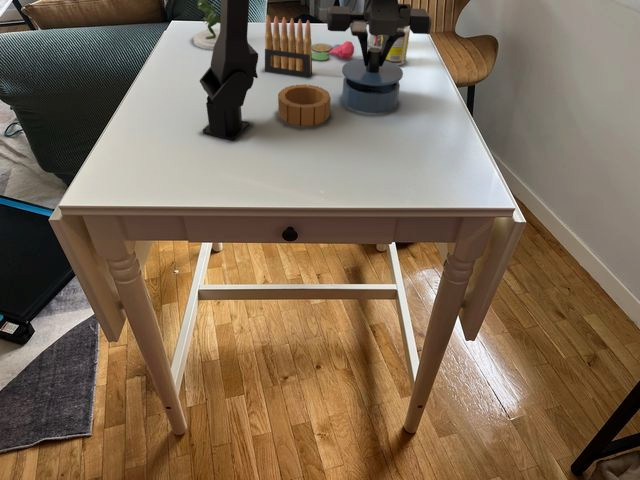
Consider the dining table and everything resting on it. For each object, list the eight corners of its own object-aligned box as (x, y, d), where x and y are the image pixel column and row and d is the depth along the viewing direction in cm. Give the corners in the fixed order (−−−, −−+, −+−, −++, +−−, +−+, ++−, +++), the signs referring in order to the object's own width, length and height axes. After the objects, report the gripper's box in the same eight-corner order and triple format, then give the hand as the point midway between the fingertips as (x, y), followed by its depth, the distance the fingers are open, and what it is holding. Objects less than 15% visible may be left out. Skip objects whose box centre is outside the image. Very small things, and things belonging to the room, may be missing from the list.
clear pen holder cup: (362, 47, 123) (369, -18, 113) (370, 38, 128) (377, -25, 117) (389, 52, 121) (398, -14, 111) (396, 42, 126) (405, -21, 116)
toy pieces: (362, 50, 121) (364, 32, 118) (346, 66, 113) (347, 47, 110) (319, 42, 124) (319, 24, 121) (300, 57, 117) (300, 38, 114)
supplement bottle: (394, 55, 119) (401, 11, 112) (409, 63, 116) (417, 18, 109) (377, 59, 117) (382, 15, 110) (391, 68, 114) (398, 22, 107)
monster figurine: (192, 33, 126) (186, -10, 119) (238, 31, 128) (235, -12, 121) (195, 51, 117) (188, 5, 110) (244, 48, 119) (241, 3, 113)
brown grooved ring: (318, 132, 90) (318, 111, 88) (270, 121, 93) (269, 101, 90) (335, 110, 97) (337, 90, 94) (291, 100, 100) (291, 80, 97)
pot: (388, 120, 95) (391, 99, 92) (334, 108, 98) (335, 87, 95) (402, 96, 103) (405, 76, 100) (352, 86, 105) (353, 66, 103)
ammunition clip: (312, 74, 109) (313, 19, 101) (310, 77, 108) (311, 21, 100) (267, 68, 111) (265, 13, 103) (264, 71, 110) (262, 15, 102)
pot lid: (393, 93, 91) (397, 66, 87) (333, 81, 94) (334, 55, 90) (408, 70, 99) (412, 44, 96) (353, 59, 102) (355, 34, 99)
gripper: (331, -11, 78) (327, 82, 89) (445, -8, 79) (428, 84, 89) (328, -29, 86) (324, 58, 97) (432, -26, 87) (417, 60, 98)
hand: (373, 65), depth 95 cm, fingers closed on pot lid, 3 cm apart
